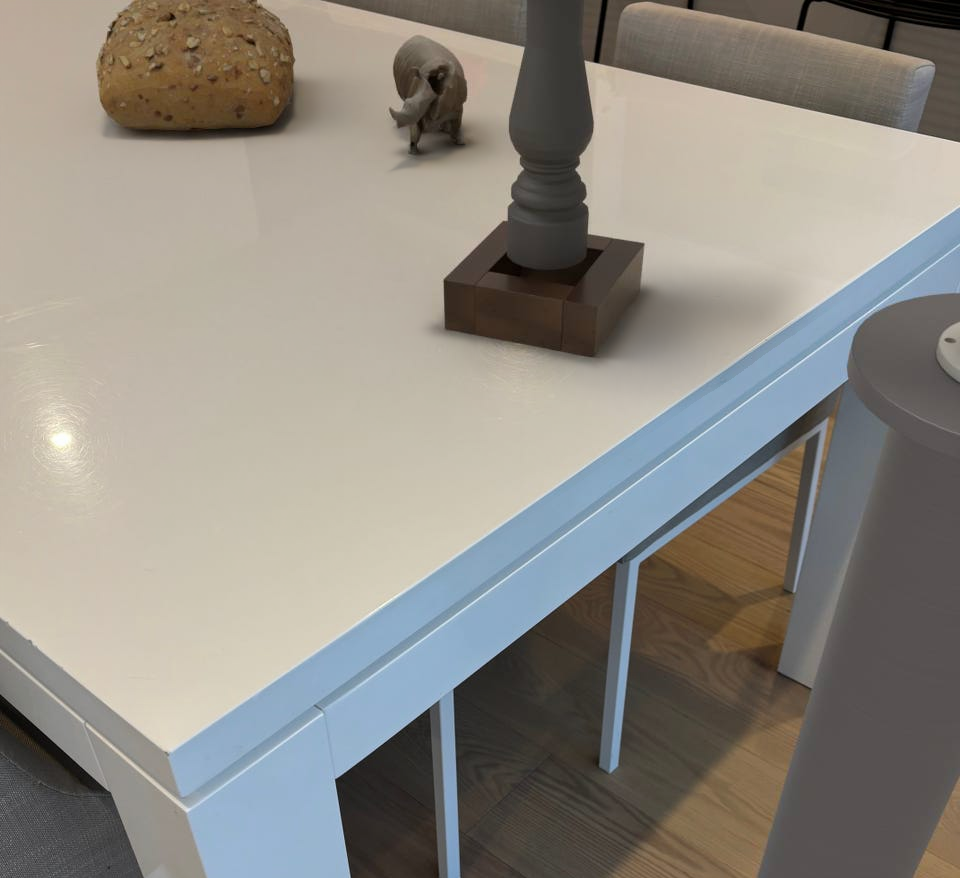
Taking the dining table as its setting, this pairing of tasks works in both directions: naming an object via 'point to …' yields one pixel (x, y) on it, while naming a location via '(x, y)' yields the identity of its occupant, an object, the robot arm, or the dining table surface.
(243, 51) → the bread
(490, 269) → the square frame
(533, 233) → the candle holder
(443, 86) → the rhinoceros figurine
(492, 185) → the dining table surface
